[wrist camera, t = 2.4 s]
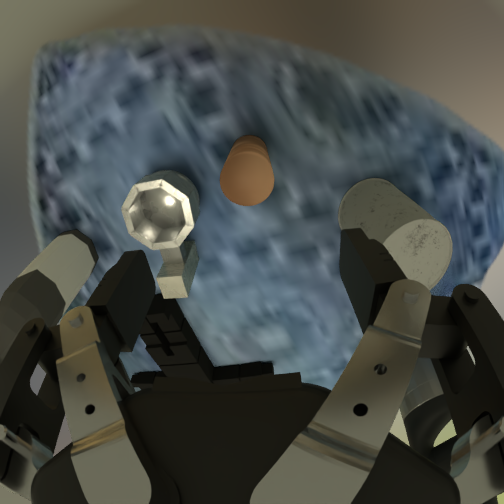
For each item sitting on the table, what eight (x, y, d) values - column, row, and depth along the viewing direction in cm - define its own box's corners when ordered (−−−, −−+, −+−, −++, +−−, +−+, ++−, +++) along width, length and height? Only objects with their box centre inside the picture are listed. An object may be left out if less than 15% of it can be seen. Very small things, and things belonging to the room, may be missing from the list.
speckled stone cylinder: (414, 205, 33) (465, 251, 23) (372, 255, 38) (407, 314, 27) (369, 163, 31) (419, 198, 20) (323, 221, 35) (351, 278, 24)
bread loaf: (265, 133, 29) (271, 151, 19) (268, 166, 32) (276, 203, 21) (229, 137, 30) (216, 158, 19) (234, 170, 32) (224, 208, 21)
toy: (241, 299, 35) (282, 406, 50) (243, 275, 40) (281, 385, 55) (71, 324, 39) (151, 413, 54) (83, 304, 44) (155, 395, 59)
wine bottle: (80, 279, 40) (-7, 432, 15) (51, 243, 37) (-59, 384, 11) (108, 260, 38) (8, 438, 12) (76, 218, 35) (-58, 379, 9)
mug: (196, 160, 31) (179, 179, 24) (215, 258, 38) (207, 296, 31) (138, 171, 32) (109, 193, 25) (163, 263, 38) (146, 299, 31)
